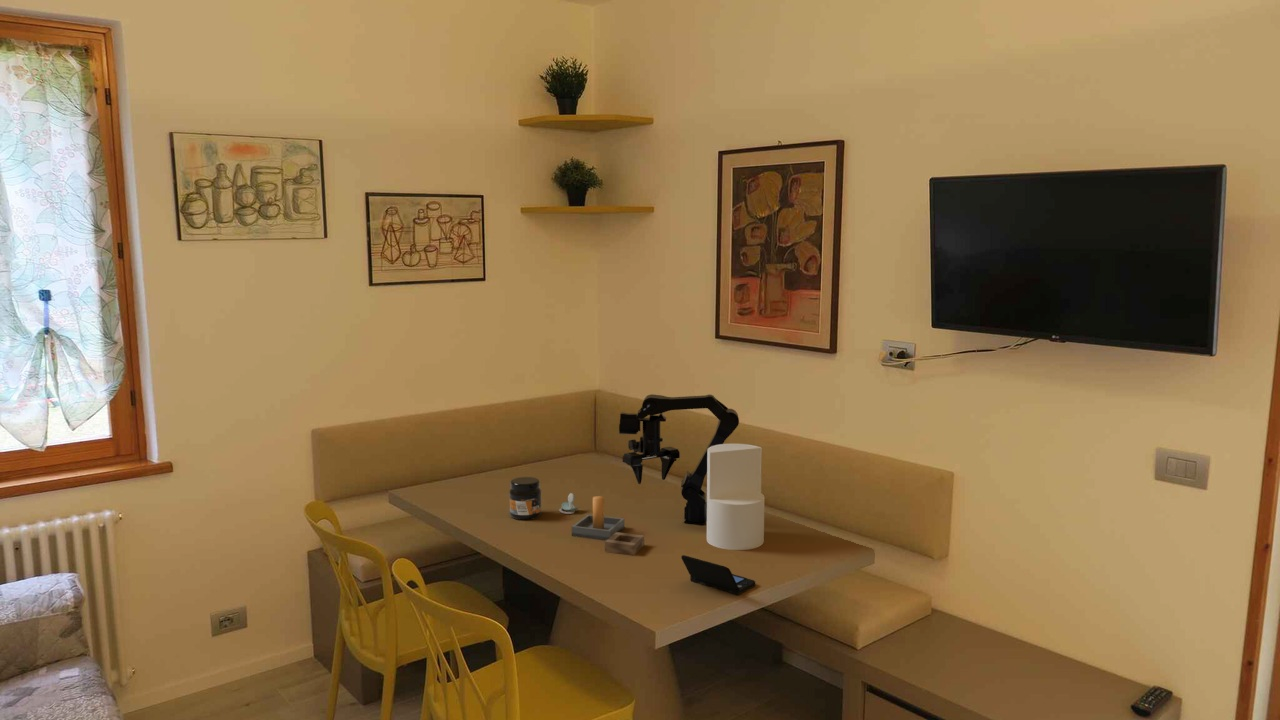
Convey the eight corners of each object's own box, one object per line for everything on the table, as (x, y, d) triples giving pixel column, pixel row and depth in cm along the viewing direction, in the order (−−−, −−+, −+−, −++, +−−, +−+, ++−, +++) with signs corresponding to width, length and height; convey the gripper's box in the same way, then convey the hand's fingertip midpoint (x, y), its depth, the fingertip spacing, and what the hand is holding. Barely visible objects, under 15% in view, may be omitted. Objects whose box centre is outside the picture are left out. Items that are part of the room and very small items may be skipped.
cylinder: (697, 534, 274) (697, 446, 270) (747, 528, 280) (748, 441, 276) (721, 553, 258) (722, 459, 254) (774, 545, 264) (775, 454, 260)
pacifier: (567, 516, 292) (582, 512, 296) (566, 498, 291) (581, 494, 295) (555, 511, 298) (569, 507, 302) (554, 493, 297) (568, 489, 301)
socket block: (644, 545, 265) (644, 535, 264) (633, 555, 256) (633, 545, 256) (616, 541, 268) (616, 532, 267) (604, 551, 259) (604, 541, 259)
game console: (757, 586, 234) (758, 553, 233) (728, 602, 224) (728, 568, 223) (710, 572, 244) (710, 540, 243) (679, 586, 234) (679, 554, 233)
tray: (624, 527, 280) (624, 518, 280) (609, 540, 269) (609, 531, 268) (587, 523, 285) (587, 514, 284) (571, 535, 273) (571, 526, 272)
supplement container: (520, 522, 286) (519, 486, 284) (503, 515, 294) (502, 479, 292) (547, 516, 292) (547, 481, 290) (530, 508, 300) (529, 474, 299)
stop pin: (605, 527, 277) (605, 496, 276) (601, 531, 274) (601, 499, 273) (595, 526, 279) (595, 495, 277) (591, 529, 275) (590, 498, 274)
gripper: (661, 426, 295) (661, 472, 297) (613, 433, 285) (613, 480, 287) (680, 432, 286) (680, 479, 288) (631, 439, 276) (631, 488, 278)
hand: (651, 481), depth 286 cm, fingers open, 9 cm apart
